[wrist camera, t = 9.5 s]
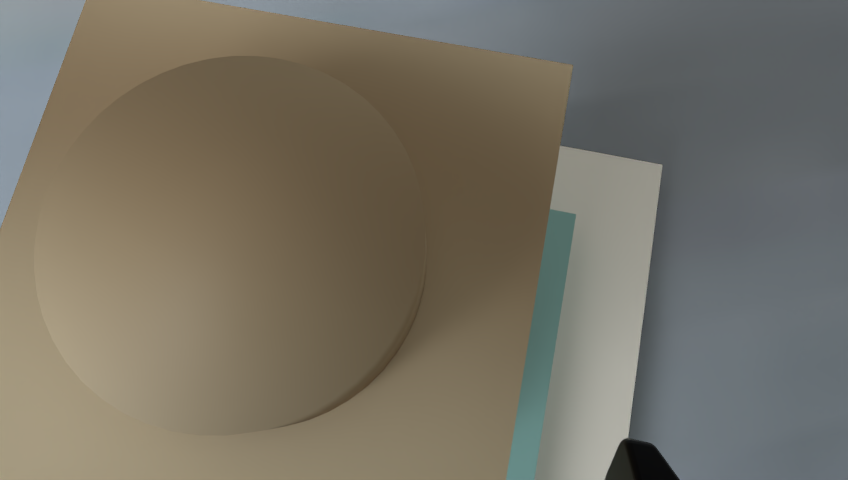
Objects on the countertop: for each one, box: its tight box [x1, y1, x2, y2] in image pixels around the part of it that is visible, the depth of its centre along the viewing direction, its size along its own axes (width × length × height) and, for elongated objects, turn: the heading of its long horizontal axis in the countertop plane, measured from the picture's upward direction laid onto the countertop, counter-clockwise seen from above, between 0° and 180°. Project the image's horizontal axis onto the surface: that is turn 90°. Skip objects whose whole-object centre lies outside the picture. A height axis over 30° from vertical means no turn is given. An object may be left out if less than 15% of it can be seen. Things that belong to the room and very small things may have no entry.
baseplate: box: [506, 146, 662, 480], centre depth 17 cm, size 14×14×2 cm
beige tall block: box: [0, 0, 573, 480], centre depth 11 cm, size 5×5×13 cm
